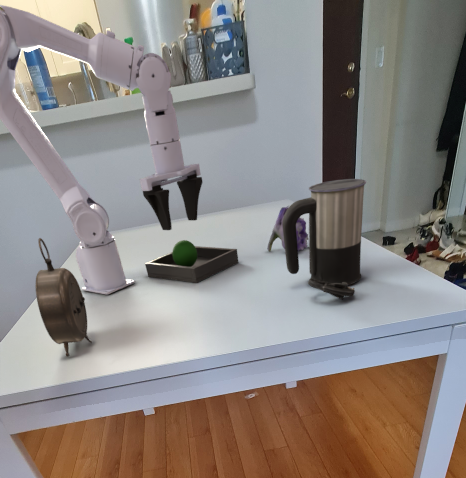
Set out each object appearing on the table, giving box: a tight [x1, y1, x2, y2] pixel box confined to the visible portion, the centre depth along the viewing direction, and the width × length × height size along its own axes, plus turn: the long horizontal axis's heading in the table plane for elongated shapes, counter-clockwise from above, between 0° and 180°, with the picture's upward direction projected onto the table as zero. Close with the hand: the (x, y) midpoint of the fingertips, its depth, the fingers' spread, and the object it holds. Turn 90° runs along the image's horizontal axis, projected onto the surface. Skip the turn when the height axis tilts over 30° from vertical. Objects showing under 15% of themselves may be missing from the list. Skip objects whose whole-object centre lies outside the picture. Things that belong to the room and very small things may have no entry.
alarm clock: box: [34, 237, 93, 358], centre depth 72 cm, size 11×5×16 cm, turn 5°
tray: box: [144, 245, 239, 284], centre depth 101 cm, size 16×14×3 cm
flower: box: [267, 205, 309, 253], centre depth 100 cm, size 9×9×10 cm
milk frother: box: [283, 178, 367, 301], centre depth 76 cm, size 14×16×15 cm
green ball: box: [171, 239, 197, 267], centre depth 99 cm, size 5×5×5 cm
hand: (180, 224), depth 94 cm, fingers open, 7 cm apart
